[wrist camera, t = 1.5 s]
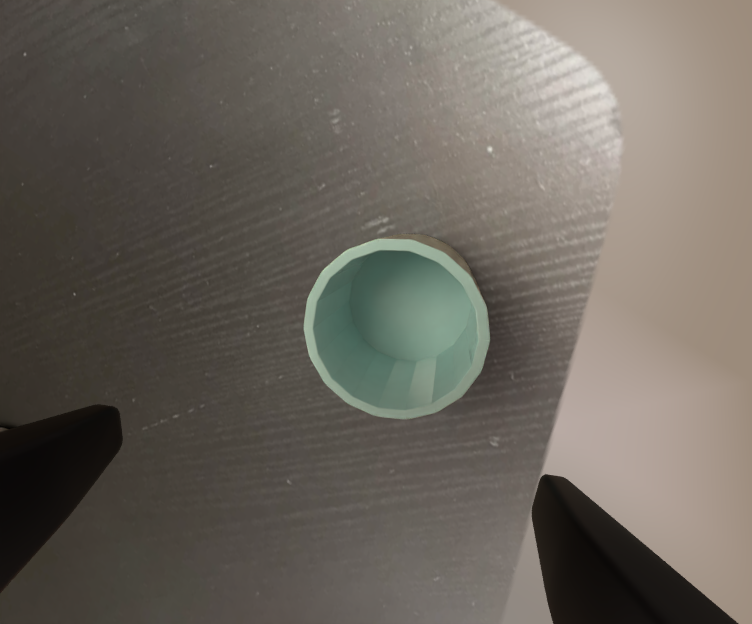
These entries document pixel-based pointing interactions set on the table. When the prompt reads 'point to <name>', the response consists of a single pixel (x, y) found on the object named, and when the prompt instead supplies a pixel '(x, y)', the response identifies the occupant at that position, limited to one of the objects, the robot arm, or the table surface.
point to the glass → (398, 326)
